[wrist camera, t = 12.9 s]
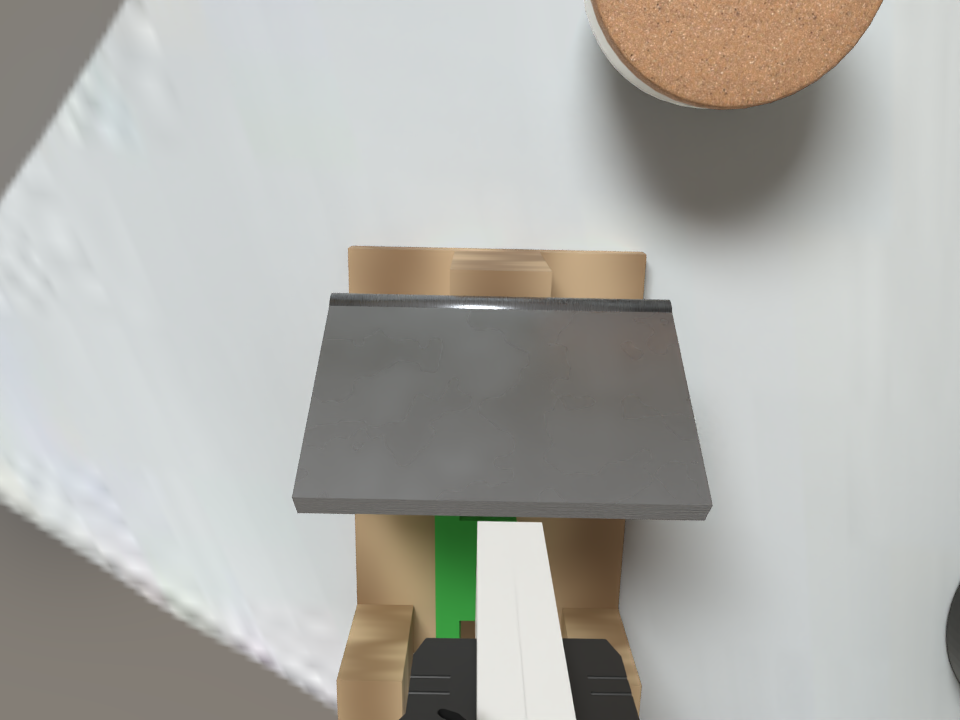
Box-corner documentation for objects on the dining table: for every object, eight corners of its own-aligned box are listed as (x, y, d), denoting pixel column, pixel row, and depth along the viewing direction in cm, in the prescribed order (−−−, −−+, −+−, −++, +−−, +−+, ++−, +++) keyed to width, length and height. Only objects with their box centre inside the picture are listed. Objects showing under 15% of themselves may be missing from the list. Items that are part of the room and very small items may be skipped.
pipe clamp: (509, 618, 40) (513, 676, 36) (440, 617, 40) (435, 675, 36) (513, 423, 37) (518, 461, 33) (438, 423, 37) (433, 460, 33)
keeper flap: (662, 314, 30) (669, 293, 29) (703, 522, 24) (713, 503, 23) (336, 308, 30) (332, 286, 29) (298, 514, 24) (291, 495, 23)
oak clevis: (641, 252, 36) (679, 274, 29) (611, 645, 42) (636, 739, 35) (351, 245, 36) (321, 266, 29) (361, 640, 42) (338, 734, 35)
